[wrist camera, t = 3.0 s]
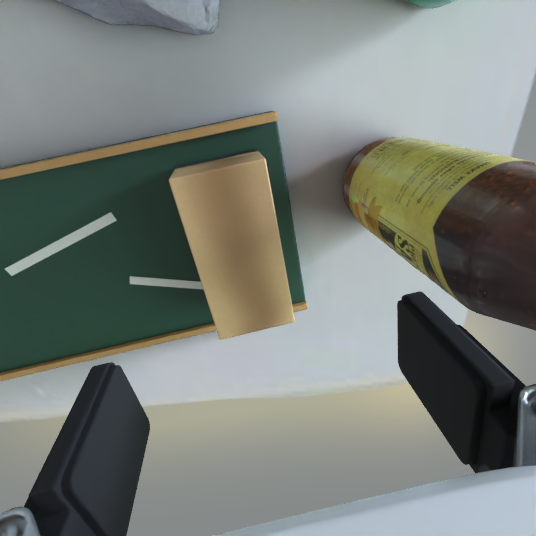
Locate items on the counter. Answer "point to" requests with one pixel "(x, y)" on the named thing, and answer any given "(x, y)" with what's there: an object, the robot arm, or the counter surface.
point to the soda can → (430, 3)
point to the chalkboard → (115, 246)
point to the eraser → (235, 241)
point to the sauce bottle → (454, 219)
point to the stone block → (155, 13)
